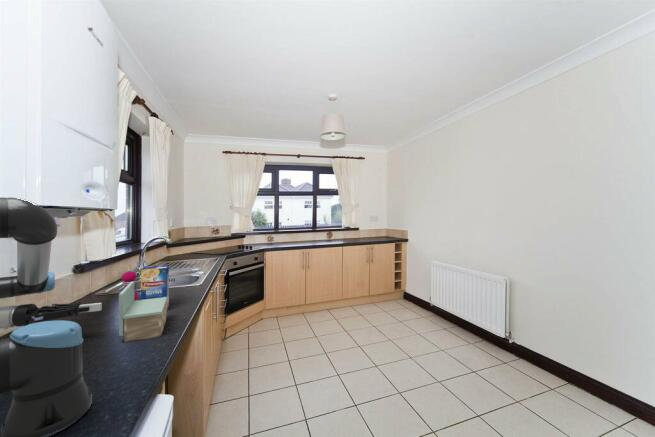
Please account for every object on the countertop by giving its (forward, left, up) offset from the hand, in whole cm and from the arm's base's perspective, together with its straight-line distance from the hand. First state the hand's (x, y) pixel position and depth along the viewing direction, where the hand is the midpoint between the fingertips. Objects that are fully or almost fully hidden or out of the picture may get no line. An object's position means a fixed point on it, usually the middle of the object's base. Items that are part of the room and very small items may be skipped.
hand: (101, 306), depth 103 cm
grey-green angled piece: (+6, -13, -9) cm, 17 cm away
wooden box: (+7, -14, -12) cm, 20 cm away
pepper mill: (+32, +12, -12) cm, 36 cm away
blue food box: (+28, -4, -12) cm, 30 cm away
